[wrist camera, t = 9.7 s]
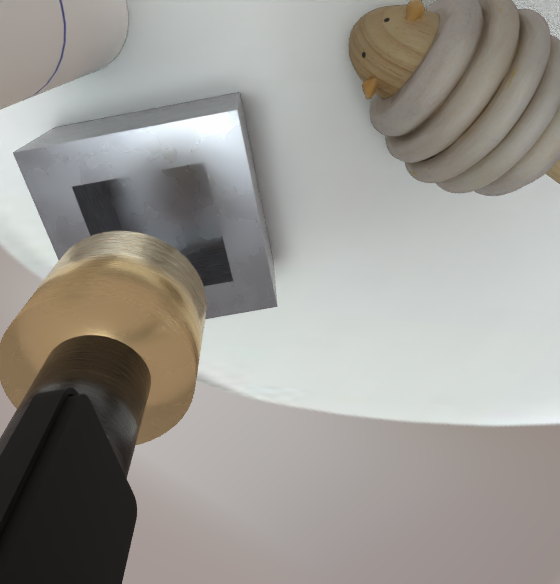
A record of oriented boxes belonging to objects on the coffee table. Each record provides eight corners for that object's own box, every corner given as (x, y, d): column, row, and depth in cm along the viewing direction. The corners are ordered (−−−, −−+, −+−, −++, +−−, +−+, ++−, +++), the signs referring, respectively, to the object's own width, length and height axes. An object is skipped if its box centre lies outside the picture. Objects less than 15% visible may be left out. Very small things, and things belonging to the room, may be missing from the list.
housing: (239, 92, 35) (237, 110, 29) (273, 262, 41) (277, 306, 35) (54, 127, 35) (12, 152, 29) (115, 290, 42) (92, 338, 35)
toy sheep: (378, -58, 31) (435, -88, 21) (587, 72, 35) (714, 97, 26) (299, 107, 35) (317, 145, 26) (493, 206, 40) (571, 269, 30)
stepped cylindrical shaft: (184, 217, 23) (129, 390, 13) (221, 350, 27) (202, 570, 16) (25, 246, 23) (-158, 439, 13) (83, 373, 27) (-23, 604, 16)
